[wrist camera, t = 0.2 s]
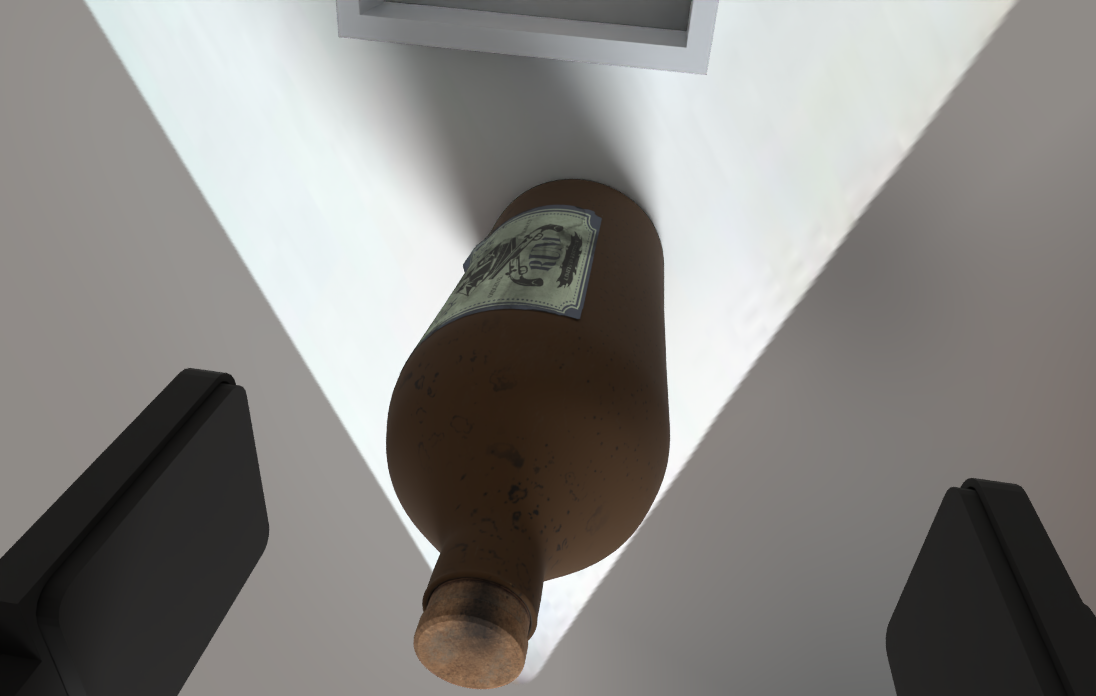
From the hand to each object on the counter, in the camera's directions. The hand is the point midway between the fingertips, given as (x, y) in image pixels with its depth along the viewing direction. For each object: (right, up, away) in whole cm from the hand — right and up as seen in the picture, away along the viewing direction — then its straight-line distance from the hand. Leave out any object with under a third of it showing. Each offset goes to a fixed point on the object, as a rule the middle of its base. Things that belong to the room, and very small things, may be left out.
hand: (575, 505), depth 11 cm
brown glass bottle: (+1, +7, +32) cm, 33 cm away
